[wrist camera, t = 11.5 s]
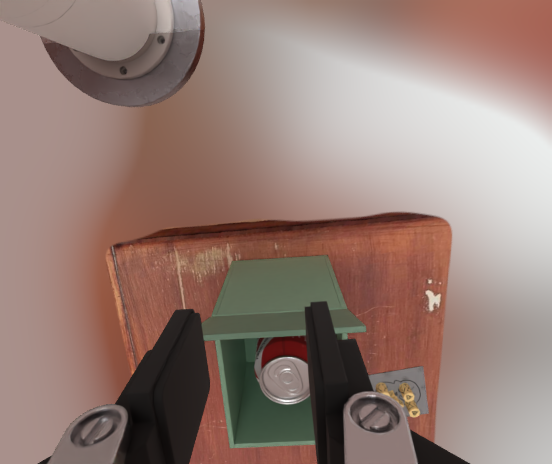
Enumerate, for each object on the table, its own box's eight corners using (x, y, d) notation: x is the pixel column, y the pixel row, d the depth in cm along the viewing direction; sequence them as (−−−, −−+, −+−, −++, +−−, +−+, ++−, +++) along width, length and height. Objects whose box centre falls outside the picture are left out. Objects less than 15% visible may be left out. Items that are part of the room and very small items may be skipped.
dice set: (374, 383, 49) (378, 393, 47) (411, 377, 49) (416, 386, 47) (379, 412, 50) (383, 423, 48) (415, 406, 50) (420, 417, 48)
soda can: (294, 285, 44) (299, 339, 33) (321, 325, 46) (334, 391, 34) (250, 310, 46) (239, 371, 34) (277, 349, 47) (276, 420, 36)
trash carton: (232, 260, 44) (211, 315, 31) (327, 254, 44) (347, 307, 31) (243, 363, 48) (229, 448, 35) (331, 358, 48) (349, 443, 35)
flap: (210, 321, 31) (210, 316, 31) (348, 313, 30) (347, 308, 30) (185, 342, 23) (184, 335, 23) (366, 332, 23) (366, 325, 23)
